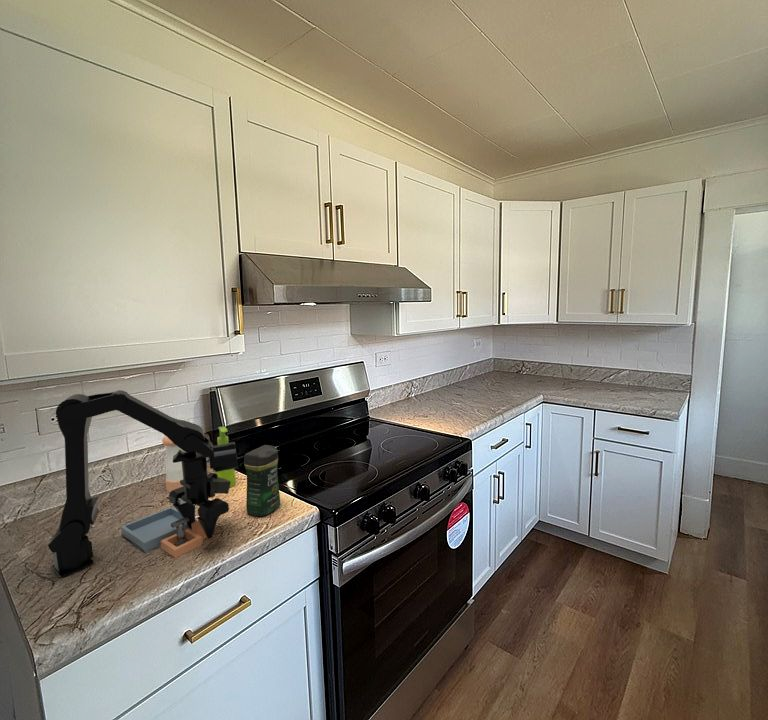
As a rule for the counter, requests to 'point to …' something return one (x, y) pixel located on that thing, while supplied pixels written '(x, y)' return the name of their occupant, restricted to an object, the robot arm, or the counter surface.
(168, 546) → the tan rectangular frame
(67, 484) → the robot arm
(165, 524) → the tray
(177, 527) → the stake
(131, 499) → the counter surface
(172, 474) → the pepper shaker
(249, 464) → the coffee jar
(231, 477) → the soap dispenser
